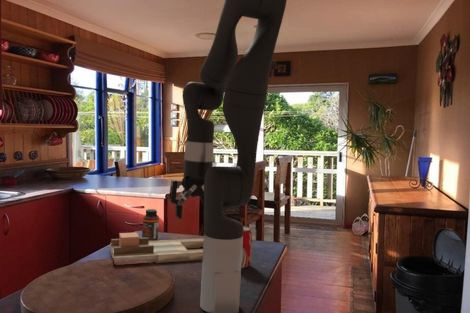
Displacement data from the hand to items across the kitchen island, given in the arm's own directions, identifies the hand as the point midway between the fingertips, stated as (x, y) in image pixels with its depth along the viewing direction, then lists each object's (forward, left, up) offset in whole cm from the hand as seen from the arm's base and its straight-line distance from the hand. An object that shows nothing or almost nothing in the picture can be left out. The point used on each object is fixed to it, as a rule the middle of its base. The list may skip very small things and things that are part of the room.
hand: (194, 218), depth 106 cm
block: (+26, +14, -15) cm, 33 cm away
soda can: (+10, -18, -18) cm, 28 cm away
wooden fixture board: (+26, +1, -18) cm, 31 cm away
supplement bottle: (+44, +4, -18) cm, 48 cm away
